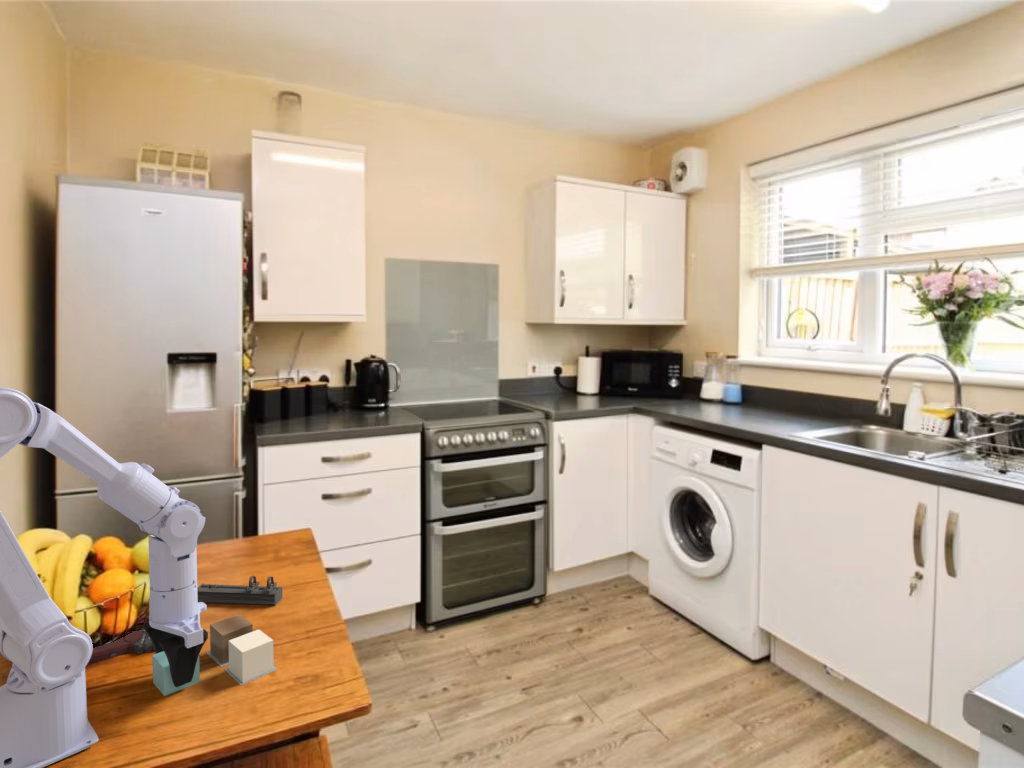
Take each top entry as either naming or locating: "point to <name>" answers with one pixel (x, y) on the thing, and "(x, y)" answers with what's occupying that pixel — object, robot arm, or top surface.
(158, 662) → the teal cube
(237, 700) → the top surface
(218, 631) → the walnut cube
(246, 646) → the cream cube
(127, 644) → the pistol
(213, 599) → the light fixture
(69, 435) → the robot arm
